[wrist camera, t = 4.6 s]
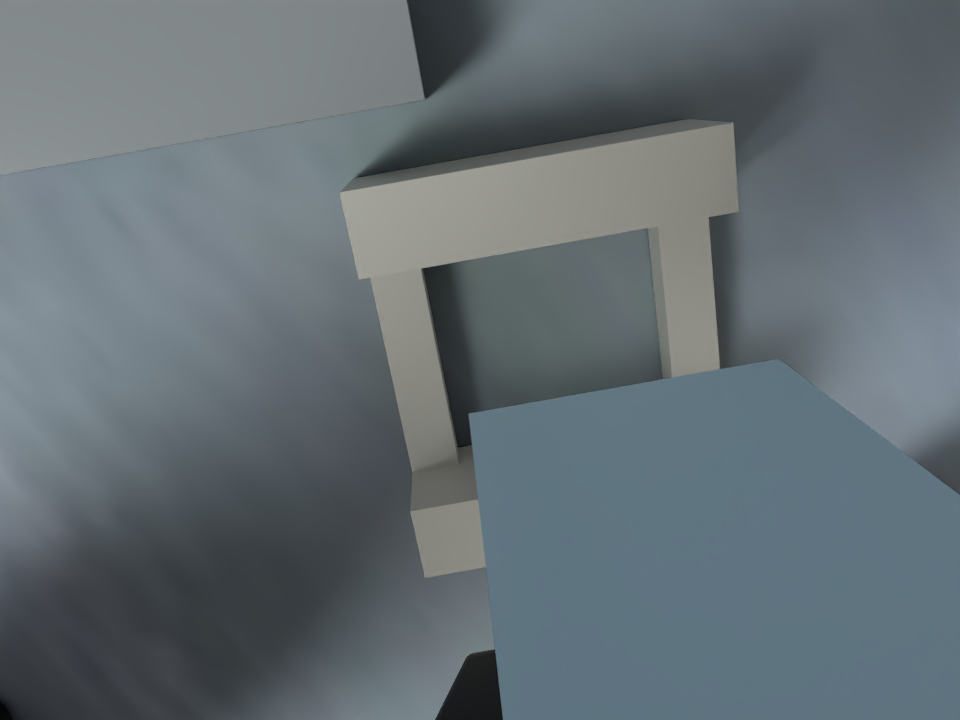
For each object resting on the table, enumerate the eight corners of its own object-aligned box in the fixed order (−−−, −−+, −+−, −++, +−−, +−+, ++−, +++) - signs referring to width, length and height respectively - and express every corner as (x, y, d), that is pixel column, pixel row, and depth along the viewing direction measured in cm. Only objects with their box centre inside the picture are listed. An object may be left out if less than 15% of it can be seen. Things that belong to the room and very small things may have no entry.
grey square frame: (425, 515, 22) (425, 578, 19) (353, 178, 19) (339, 192, 16) (715, 463, 22) (758, 518, 19) (687, 119, 19) (733, 122, 16)
